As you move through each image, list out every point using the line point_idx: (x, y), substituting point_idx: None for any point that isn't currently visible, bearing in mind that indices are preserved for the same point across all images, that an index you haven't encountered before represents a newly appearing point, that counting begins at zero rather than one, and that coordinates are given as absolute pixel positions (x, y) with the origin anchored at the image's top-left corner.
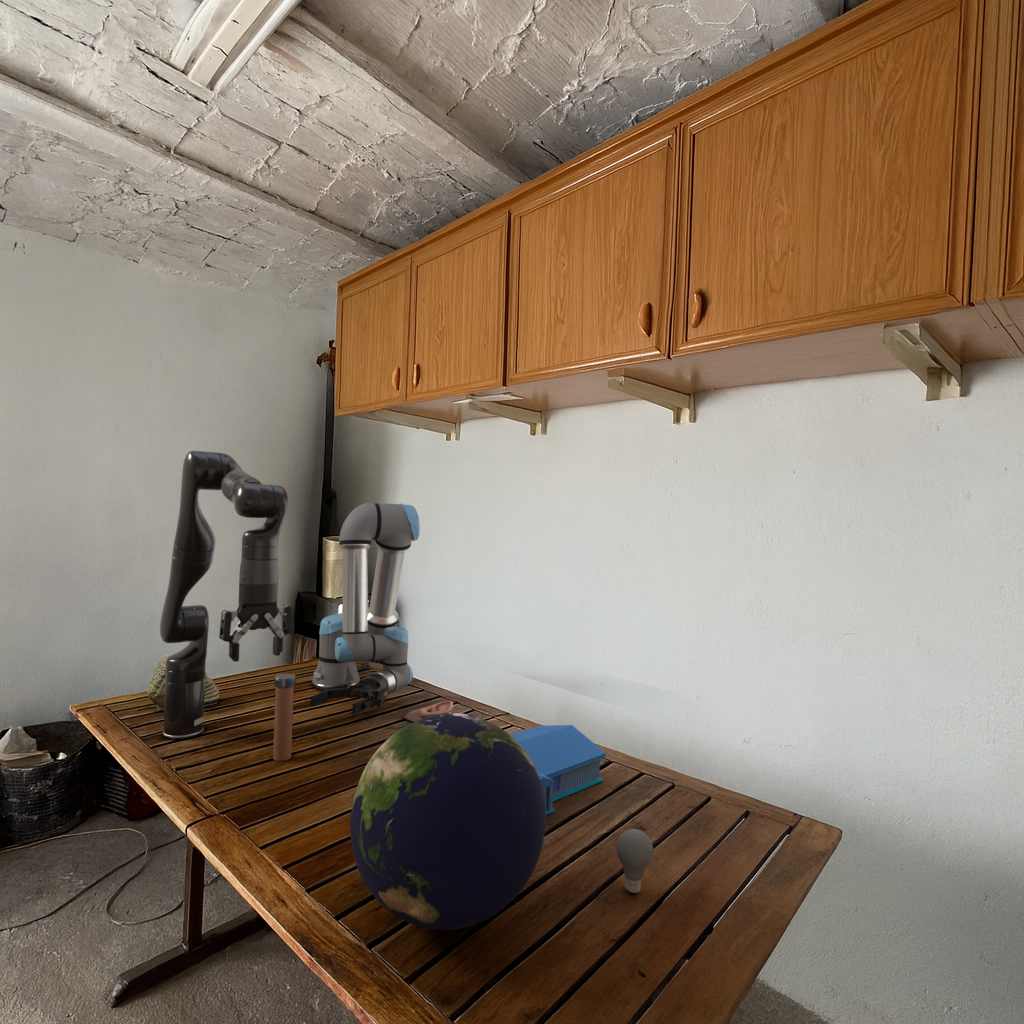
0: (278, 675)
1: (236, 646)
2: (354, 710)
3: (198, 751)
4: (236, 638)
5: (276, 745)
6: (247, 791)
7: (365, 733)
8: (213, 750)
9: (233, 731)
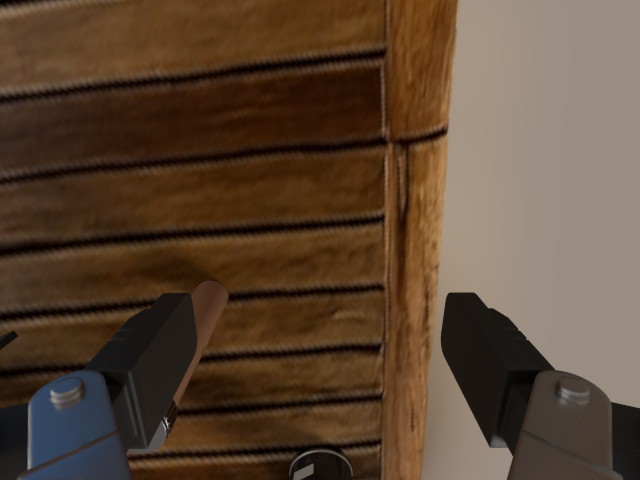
0: (150, 445)
1: (522, 353)
2: (6, 337)
3: (326, 393)
4: (579, 407)
5: (218, 304)
6: (316, 197)
7: (23, 308)
8: (304, 385)
9: (249, 437)
